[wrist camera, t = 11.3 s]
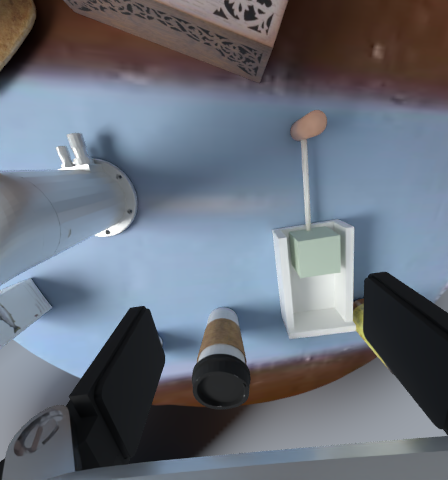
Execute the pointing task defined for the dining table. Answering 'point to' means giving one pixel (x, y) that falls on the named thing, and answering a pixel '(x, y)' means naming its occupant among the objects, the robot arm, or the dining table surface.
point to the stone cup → (14, 26)
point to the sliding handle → (310, 239)
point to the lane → (316, 287)
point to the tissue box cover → (198, 28)
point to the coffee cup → (221, 363)
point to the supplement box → (20, 309)
